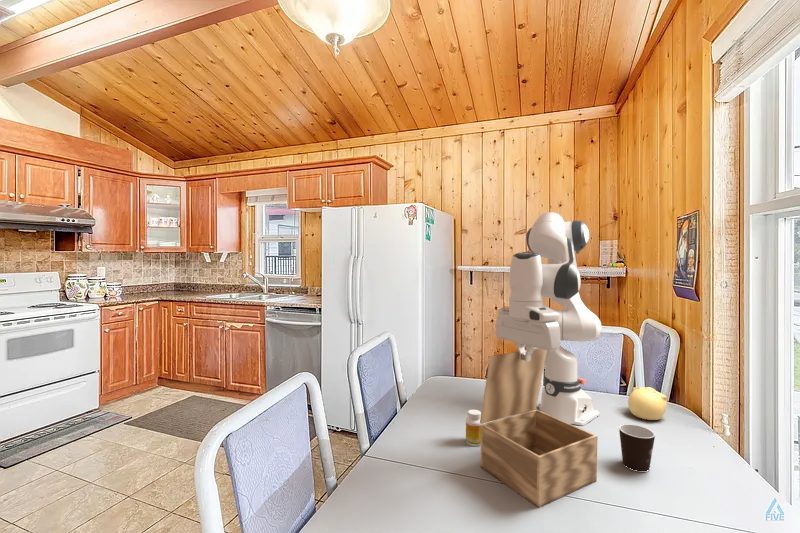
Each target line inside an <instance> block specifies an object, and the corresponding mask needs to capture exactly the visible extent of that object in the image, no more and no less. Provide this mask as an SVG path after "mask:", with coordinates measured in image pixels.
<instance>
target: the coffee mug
mask: <svg viewBox="0 0 800 533" xmlns="http://www.w3.org/2000/svg"><path fill="white" fill-rule="evenodd" d="M618 431H619V441H620V449H621V459H622V465H623V464H624V465H625V466H627V467H628V468H631V469H633V470H637V471H647V470H649V471H650V469H649V468H650V467H651V462H652V457H653V449H654V443H655V437H656V434H655V432H654V431H653V430H651V429H650V428H648V427H644V426H642V425H637V424H630V423H626V424H621V425H619V427H618ZM624 465H623V466H624ZM625 466H624V467H625ZM627 467H626V468H627ZM628 468H627V469H628ZM633 470H632V471H633Z"/></svg>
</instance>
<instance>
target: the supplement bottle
mask: <svg viewBox="0 0 800 533" xmlns="http://www.w3.org/2000/svg"><path fill="white" fill-rule="evenodd" d="M481 412H482V411H480V410H478V409H469V410H468V411H467V415H468V416H467V417H466V418H465V419H466V420H465V442H466V444H467V445H468V446H469V445H470V446H472V447H479V446H480V447H481V425H482V424H481V423H480V418H481Z"/></svg>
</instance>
